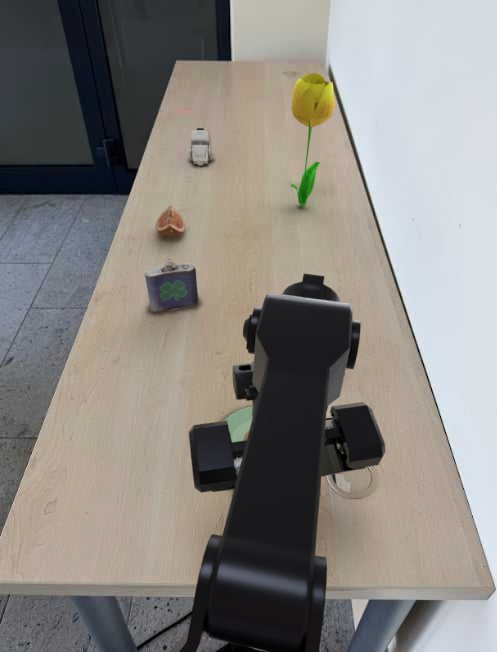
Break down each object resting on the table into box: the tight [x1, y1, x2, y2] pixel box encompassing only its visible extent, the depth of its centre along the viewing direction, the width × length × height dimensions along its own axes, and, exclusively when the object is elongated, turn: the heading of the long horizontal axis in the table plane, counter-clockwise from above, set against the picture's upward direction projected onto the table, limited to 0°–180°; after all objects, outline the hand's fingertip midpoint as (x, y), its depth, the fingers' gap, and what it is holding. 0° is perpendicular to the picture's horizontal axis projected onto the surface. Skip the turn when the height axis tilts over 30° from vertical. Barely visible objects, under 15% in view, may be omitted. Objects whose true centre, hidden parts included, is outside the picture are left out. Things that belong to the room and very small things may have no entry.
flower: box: [290, 72, 336, 209], centre depth 109 cm, size 9×8×30 cm
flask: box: [144, 257, 199, 314], centre depth 90 cm, size 9×3×11 cm, turn 105°
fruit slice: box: [155, 205, 187, 237], centre depth 109 cm, size 8×7×5 cm
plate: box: [223, 405, 253, 469], centre depth 71 cm, size 14×14×1 cm
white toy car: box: [188, 127, 213, 167], centre depth 133 cm, size 6×7×10 cm
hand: (279, 478), depth 54 cm, fingers open, 9 cm apart
